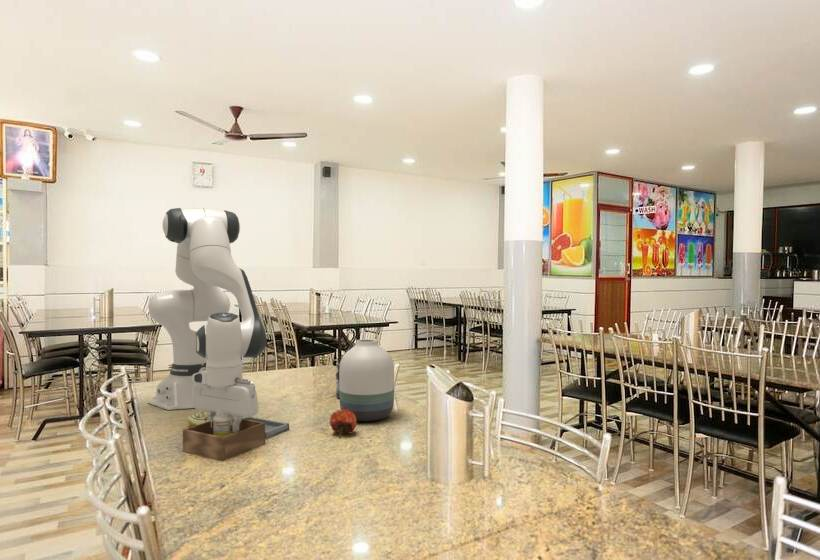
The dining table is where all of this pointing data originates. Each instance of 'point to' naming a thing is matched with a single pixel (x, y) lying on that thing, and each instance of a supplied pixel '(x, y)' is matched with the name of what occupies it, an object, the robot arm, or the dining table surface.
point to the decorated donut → (198, 418)
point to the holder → (223, 440)
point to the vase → (367, 381)
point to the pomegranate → (343, 421)
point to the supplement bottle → (222, 424)
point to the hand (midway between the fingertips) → (224, 429)
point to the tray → (271, 426)
